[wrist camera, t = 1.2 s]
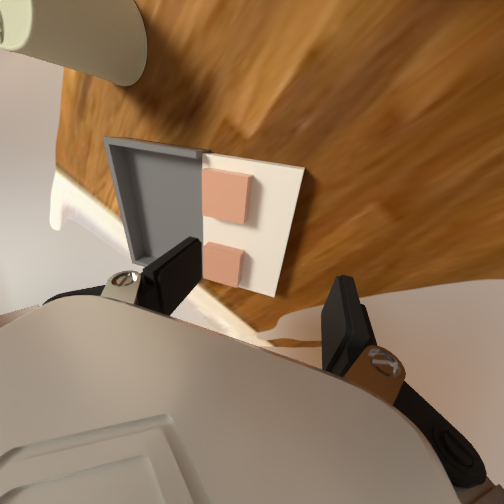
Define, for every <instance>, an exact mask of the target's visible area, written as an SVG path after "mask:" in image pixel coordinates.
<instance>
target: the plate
mask: <svg viewBox="0 0 504 504" xmlns="http://www.w3.org/2000/svg"><path fill="white" fill-rule="evenodd" d="M209 167H210V168H216V169H222V170H227V171H233V172H239V173H245V174H251V175H253V178H252V187H251V196H250V205H249V214H248V220H247V221H246V222H245V223H244V225H243V224H238V223H234V222H229V221H225V220H220V219H216V218H211V217H207V216H203V246H204V245H206V244H207V243H208V242H213V243H217V244H221V245H225V246H229V247H233V248H237V249H241V250H244V259H243V269H242V278H241V282H240V284H239V285H238V287H240V288H244V289H247V290H251V291H254V292H258V293H261V294H265V295H268V296H272V297H274V296H275V292H276V289H277V285H278V280H279V276H280V272H281V268H282V263H283V259H284V255H285V251H286V246H287V242H288V238H289V234H290V229H291V225H292V221H293V217H294V212H295V208H296V204H297V199H298V195H299V191H300V187H301V182H302V178H303V174H304V170H305V168H304V167H298V166H291V165H285V164H278V163H272V162H266V161H259V160H253V159H247V158H240V157H234V156H227V155H221V154H215V153H203V154H202V169H204V168H209Z"/></svg>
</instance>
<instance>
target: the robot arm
mask: <svg viewBox="0 0 504 504" xmlns="http://www.w3.org/2000/svg"><path fill="white" fill-rule="evenodd" d="M201 278H202V243H201V241H200V240H199V239H198V238H195V237H191V236H189V237H188V238H186V239H185V240H183V241H182V242H181V243H179V244H178V245H176V246H175V247H173V248H172V249H171V250H169V251H168V252H166V253H165V254H163V255H162V256H161V257H159V258H158V259H156V260H155V261H153V262H152V263H151V264H149V265H148V266H146V267H145V268H144V269H143V272H142V273H141V274H140V273H138V272H136V271H123V272H119V273H117V274H115V275H113V276H112V277H110V278H109V280H108V281H107V283H106V285H103V286H97V287H92V288H86V289H81V290H76V291H71V292H66V293H62V294H58V295H56V296H54V297H52V298H50V299H48V300H47V301H46V302H45V303H44V304H43V305H42V306H40V307H39V305H35V306H31V307H28V308H24V309H21V310H17V311H14V312H10V313H7V314H3V315H0V504H504V489H503V488H502V486H501V485H500V484H498V485H494V484H493V483H492V482H491V480H490V479H489V478H488V477H487V476H486V470H485V466H484V463H483V461H482V460H481V458H480V456H479V454H478V453H477V451H476V450H475V449H474V448H473V446H472V444H471V443H470V442H469V441H468V440H467V439H466V438H465V437H464V436H463V435H462V434H460V432H459V431H458V430H457V429H455V428H454V427H453V426H452V425H451V424H450V423H449V422H448V421H447V420H446V419H445V418H444V417H443V416H442V415H441V414H439V413H438V412H437V411H436V410H435V409H434V408H433V407H432V406H431V405H430V404H429V403H427V401H425V400H424V399H423V398H422V397H421V396H420V395H419V394H418V393H417V392H416V391H415V390H414V389H413V388H412V387H410V386H409V385H408V384H407V383H406V382H405V381H404V379H405V375H406V373H405V369H404V367H403V365H402V364H401V362H400V361H399V360H398V359H397V357H396V356H395V355H393V354H392V353H391V352H390V351H388V350H386V349H384V348H382V347H379V346H377V343H376V339H375V336H374V333H373V330H372V326H371V323H370V320H369V317H368V313H367V310H366V307H365V305H363V304H360V301H359V297H358V293H357V290H356V286H355V283H354V279H353V277H350V276H346V275H341V276H340V277H339V276H337V277H336V279H335V281H334V284H333V286H332V288H331V291H330V293H329V295H328V298H327V300H326V303H325V305H324V308H323V310H322V313H321V333H322V369H319V368H317V367H314V366H311V365H308V364H306V363H303V362H300V361H298V360H295V359H292V358H289V357H286V356H283V355H280V354H278V353H275V352H272V351H269V350H266V349H263V348H261V347H258V346H255V345H252V344H249V343H246V342H244V341H241V340H238V339H235V338H232V337H229V336H226V335H223V334H220V333H218V332H215V331H212V330H209V329H206V328H203V327H200V326H197V325H194V324H191V323H188V322H185V321H182V320H180V319H177V318H173V317H171V316H170V315H171V314H172V312H173V311H174V310H175V309H176V308H177V306H179V304H180V303H181V302H182V301H183V300H184V299H185V298H186V296H187V295H188V294H189V293H190V292H191V291H192V290H193V288H194V287H195V286H196V285H197V284H198V283H199V281H200V280H201Z"/></svg>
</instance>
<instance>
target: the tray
mask: <svg viewBox="0 0 504 504" xmlns="http://www.w3.org/2000/svg"><path fill="white" fill-rule="evenodd" d="M103 141H104V146H105V150H106V154H107V158H108V162H109V167H110V171H111V175H112V179H113V184H114V188H115V192H116V196H117V200H118V205H119V209H120V213H121V217H122V221H123V226H124V230H125V234H126V238H127V242H128V247H129V251H130V255H131V259H132V263H134V264H137V265H140V266H144V267H146V266H148V265H149V264H151V263H152V262H153V261H155V260H156V259H158V258H159V257H161V256H162V255H163V254H165V253H166V252H168V251H169V250H171V249H172V248H173V247H175V246H176V245H178V244H179V243H181V242H182V241H183V240H185V239H186V238H188V237H189V236H191V237H195V238H198V239H199V240H200V241H201V243H202V278H201V280H200V281H199V283H200V282H201V281H202V280H203V279H204V278H203V215H202V154H203V153H211V150H204V149H198V148H191V147H185V146H178V145H172V144H166V143H159V142H153V141H146V140H140V139H133V138H126V137H103Z"/></svg>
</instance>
